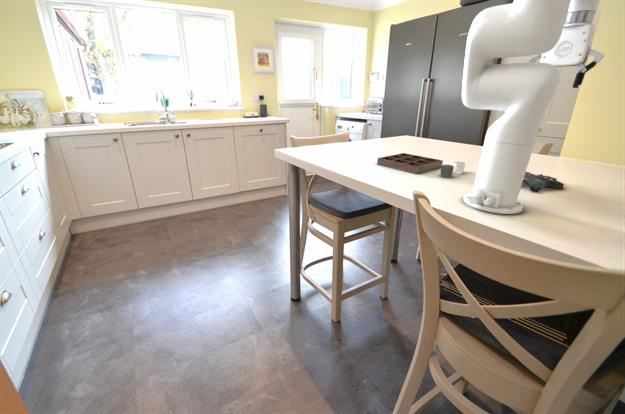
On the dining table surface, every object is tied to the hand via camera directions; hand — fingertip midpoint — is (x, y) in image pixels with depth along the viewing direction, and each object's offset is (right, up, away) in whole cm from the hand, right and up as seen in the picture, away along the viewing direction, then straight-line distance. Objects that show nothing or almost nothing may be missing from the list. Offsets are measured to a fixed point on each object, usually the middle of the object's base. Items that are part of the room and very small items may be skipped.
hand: (554, 87), depth 86 cm
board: (-37, -21, +21) cm, 47 cm away
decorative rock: (-6, -29, +2) cm, 30 cm away
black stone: (-29, -26, +8) cm, 40 cm away
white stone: (-23, -24, +13) cm, 36 cm away
